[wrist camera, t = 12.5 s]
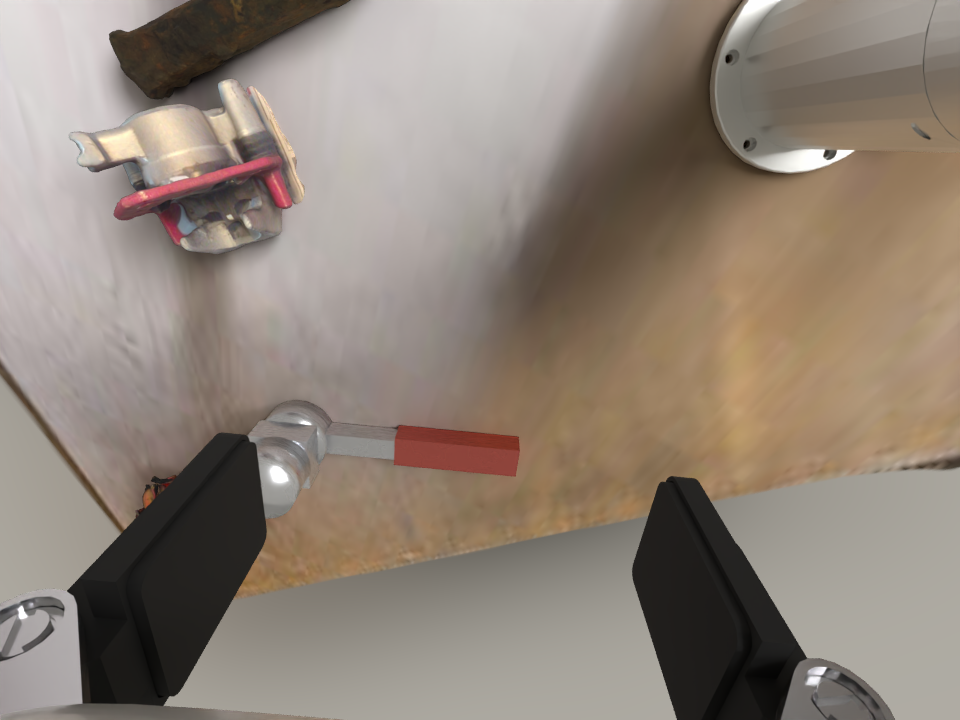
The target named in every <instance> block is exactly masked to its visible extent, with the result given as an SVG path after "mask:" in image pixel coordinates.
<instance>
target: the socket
mask: <svg viewBox="0 0 960 720" xmlns="http://www.w3.org/2000/svg"><path fill="white" fill-rule="evenodd" d="M247 436H248V438H249V440H250V442H254V443H255V444H256V447H257V454H258V462H259V471H260V479H261V487H262V496H263V504H264V513H265V518H267V519H268V518H276V517H279V516H282V515H284V514H285V513H287V512H288V511H289V510H290V509H291V507H292V505H293V504H294V502H295V500H296V498H297V496H298V495H299V493H300V491H301V489H302V488H308V489H310V488H311V486H312V484H313V482H314V480H315V478H316V476H317V475H318V473H319V454H318V435H317V425H307V424H297V423H287V422H276V421H266V420H260V421H259V422H258V424H257V425H256V426H255V427H254V428H253V430H252V431H251V432H250V433H249V434H248V435H247Z"/></svg>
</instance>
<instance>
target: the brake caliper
mask: <svg viewBox="0 0 960 720" xmlns="http://www.w3.org/2000/svg"><path fill="white" fill-rule="evenodd" d="M218 90H219V93H220V97H221V101H222V104H223V107H222V108H214V109H210V110H207V111H203V110H199V109H197V108H196V107H193V106H190V105H185V104H174V105H166V106H160V107H156V108H152V109H149V110H146V111H142V112H139V113H136V114H134V115H133V116H131V117H129V118H128V119H127V120H126V121H125V122H124V123H123V124H122V125H121V126H119V127H118V128H115V129H109V130H103V131H98V132H95V133H85V132H72V133H70V134H69V138H70V140H72V141H74V142H75V143H76V144H77V146H78V147H79V149H80V154H79V156H78V158H77V163H78V164H79V165H80V166H82V167H87V168H88V169H89V170H90V171H91V172H100V171H102V170H105V169H109V168H112V167H115V166H118V165H121V164H123V166H124V168H125V170H126V172H127V174H128V177H129V180H130V182H131V184H132V186H133V187H134V188H135V190H136V191H137V192H135V193H133V194H131V195H128V196H125V197H124V198H122V199H121V200H120V202H118V203H117V206H116V208H115V210H114V216H115V217H116V218H117V219H119V220H130V219H132V218H134V217H137V216H141V215H144V214H146V213H155V214H157V215H158V217H159V218H160V220H161V222H162V223H163V225H164V227H165V229H166V231H167V233H168V234H169V236H170V237H171V239H172V240H173V242H174V243H175V244H176V245H177V246H182V247H183V248H184V249H186V250H188V251H193V252H202V253H212V254H220V253H225V252H228V251H232V250H235V249H238V248H240V247H242V246H244V245H246V244H248V243H251V242H255V241H261V240H264V239H267V238H270V237H273V236H277V235H279V234H280V233H281V232H282V226H281V224H282V220H281V215H282V210H281V209H287V208H290V207H291V206H292V201H293V202H294V204H298V203H300V202H302V200H303V196H304V192H305V191H304V185H303V184H302V183H301V182H300V181H299V179H298V178H297V175H296V171H295V170H296V158H295V155H294V152H293V150H292V148H291V146H290V144H289V143H288V141H287V139H286V138H285V136H284V135H283V134H282V132H281V131H280V128H279V126H278V124H277V123H276V121H275V118H274V115H273V113H272V111H271V109H270V107H269V106H268V104H267V102H266V101H265V99H264V97H263V96H262V95H261V94H259V93H258V92H257V90H256V89H255V88H254V87H252V86H249V87H248V88H247V90H246V92H245V90H244V89H243V88H242V86H241V85H240V84H239V82H238V81H236V80H235V79H226V80H223V81H221V82H219V84H218Z"/></svg>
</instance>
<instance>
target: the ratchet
mask: <svg viewBox="0 0 960 720" xmlns="http://www.w3.org/2000/svg"><path fill="white" fill-rule="evenodd" d="M266 421H276V422H287V423H297V424H307V425H317V435H318V454H319V464H320V463H321V461H322V460H323V458H324V456H325V454H326V453H329V454H339V455H350V456H360V457H370V458H381V459H391V460H394V465H401V466H411V467H422V468H432V469H442V470H453V471H463V472H473V473H484V474H494V475H505V476H515V477H516V471H517V465H518V458H519V452H520V449H519V437H515V436H504V435H494V434H484V433H474V432H463V431H453V430H443V429H433V428H423V427H412V426H402V425H399V427H398V429H395V428H385V427H375V426H364V425H354V424H344V423H334V422H332V421H331V419H330V418H329V416H328V415H327V414H326V413H325V412H324V411H323V410H322V409H321V408H319V407H318V406H316V405H314V404H312V403H309V402H306V401H301V400H292V401H287V402H284V403H282V404H280V405H278V406H277V407H276V408H275V409H274V410H273V411H272V413H271V414H270V415H269V416H268V417H267V419H266Z"/></svg>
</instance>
